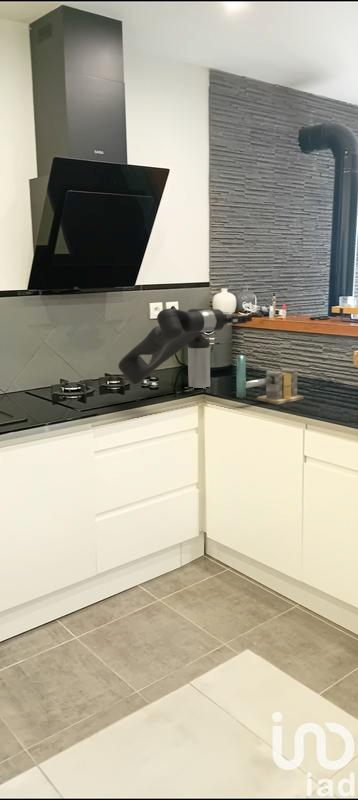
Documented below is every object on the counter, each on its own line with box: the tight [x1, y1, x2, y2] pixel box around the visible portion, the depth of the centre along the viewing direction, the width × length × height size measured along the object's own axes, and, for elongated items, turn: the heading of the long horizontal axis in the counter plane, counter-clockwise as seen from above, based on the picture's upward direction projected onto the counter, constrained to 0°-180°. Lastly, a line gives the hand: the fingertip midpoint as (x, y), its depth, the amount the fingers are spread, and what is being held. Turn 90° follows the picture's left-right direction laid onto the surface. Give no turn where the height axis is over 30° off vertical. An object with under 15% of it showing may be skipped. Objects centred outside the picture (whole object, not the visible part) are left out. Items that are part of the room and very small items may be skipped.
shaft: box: [236, 354, 275, 398], centre depth 228 cm, size 18×3×15 cm, turn 125°
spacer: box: [274, 370, 292, 399], centre depth 237 cm, size 4×7×9 cm, turn 35°
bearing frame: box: [256, 367, 304, 405], centre depth 237 cm, size 14×11×11 cm
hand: (243, 317), depth 227 cm, fingers open, 8 cm apart
